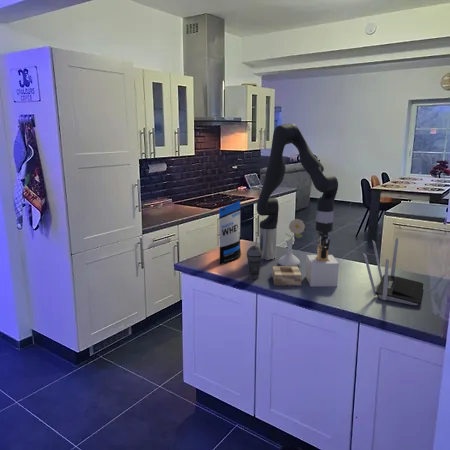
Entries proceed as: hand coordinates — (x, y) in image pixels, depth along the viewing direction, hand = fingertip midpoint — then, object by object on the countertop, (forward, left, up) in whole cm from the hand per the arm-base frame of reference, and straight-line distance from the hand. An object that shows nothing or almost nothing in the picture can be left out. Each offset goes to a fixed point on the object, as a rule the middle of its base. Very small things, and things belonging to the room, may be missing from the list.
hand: (322, 256), depth 181 cm
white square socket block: (0, 0, -12) cm, 12 cm away
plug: (0, 0, -3) cm, 3 cm away
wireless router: (+12, +28, -13) cm, 33 cm away
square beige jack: (-1, -16, -12) cm, 20 cm away
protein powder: (-34, -42, -13) cm, 56 cm away
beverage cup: (-5, -31, -13) cm, 34 cm away
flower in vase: (-22, -11, -13) cm, 28 cm away
